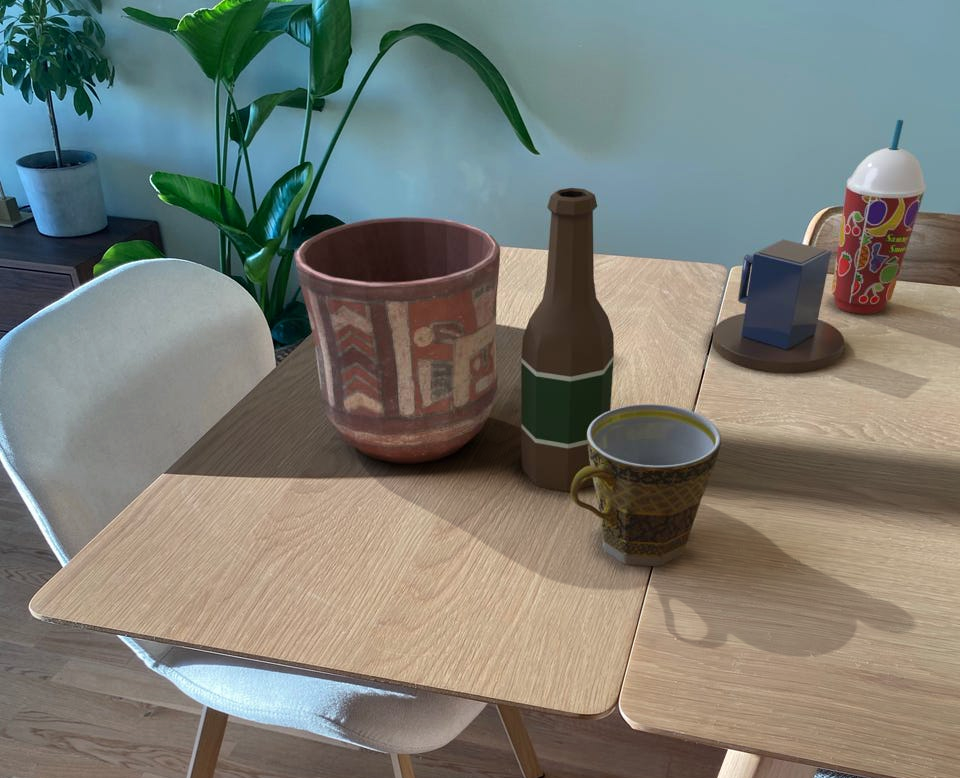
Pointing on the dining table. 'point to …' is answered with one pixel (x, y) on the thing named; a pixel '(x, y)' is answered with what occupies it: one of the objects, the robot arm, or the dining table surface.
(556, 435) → the beer bottle
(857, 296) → the smoothie
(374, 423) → the pottery
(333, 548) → the dining table surface
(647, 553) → the ceramic cup
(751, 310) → the mug
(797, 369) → the coaster
